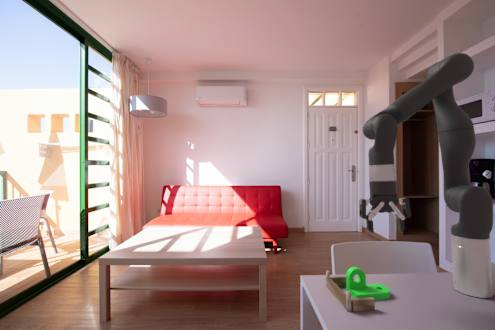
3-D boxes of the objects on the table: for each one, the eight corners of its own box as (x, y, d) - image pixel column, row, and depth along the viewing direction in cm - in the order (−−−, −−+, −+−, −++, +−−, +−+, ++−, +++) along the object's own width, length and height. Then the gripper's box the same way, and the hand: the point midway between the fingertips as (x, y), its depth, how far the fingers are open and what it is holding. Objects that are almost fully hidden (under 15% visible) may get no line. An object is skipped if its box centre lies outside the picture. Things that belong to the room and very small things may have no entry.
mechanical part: (357, 302, 74) (356, 274, 74) (346, 292, 80) (345, 267, 80) (394, 298, 76) (393, 271, 76) (381, 290, 81) (380, 264, 82)
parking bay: (347, 284, 85) (347, 269, 85) (375, 310, 69) (374, 291, 69) (325, 285, 84) (325, 270, 85) (347, 311, 68) (347, 293, 69)
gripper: (400, 178, 81) (403, 229, 81) (354, 180, 83) (357, 229, 82) (413, 179, 74) (416, 234, 73) (362, 180, 76) (365, 235, 75)
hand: (385, 232), depth 78 cm, fingers open, 8 cm apart
